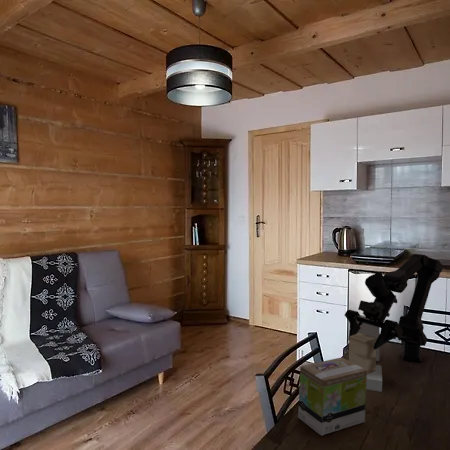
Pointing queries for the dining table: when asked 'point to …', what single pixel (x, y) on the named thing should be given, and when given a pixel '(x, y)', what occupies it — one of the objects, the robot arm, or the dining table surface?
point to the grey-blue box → (375, 380)
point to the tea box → (332, 395)
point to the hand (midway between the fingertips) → (361, 344)
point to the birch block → (363, 351)
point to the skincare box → (370, 333)
